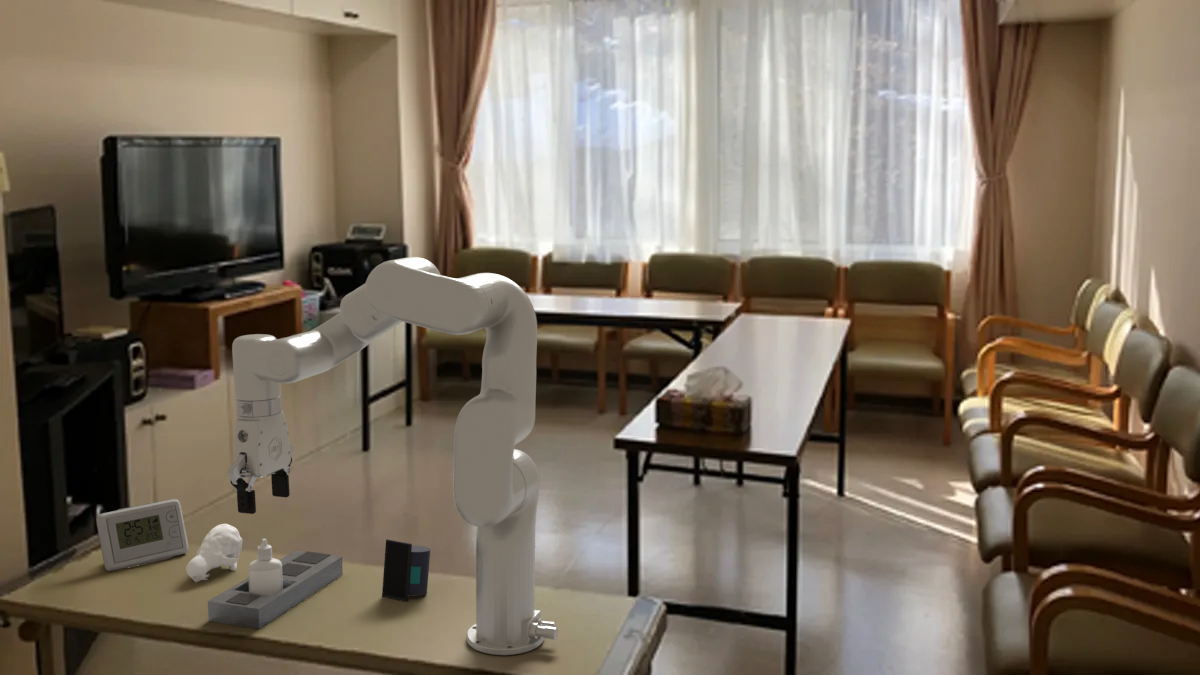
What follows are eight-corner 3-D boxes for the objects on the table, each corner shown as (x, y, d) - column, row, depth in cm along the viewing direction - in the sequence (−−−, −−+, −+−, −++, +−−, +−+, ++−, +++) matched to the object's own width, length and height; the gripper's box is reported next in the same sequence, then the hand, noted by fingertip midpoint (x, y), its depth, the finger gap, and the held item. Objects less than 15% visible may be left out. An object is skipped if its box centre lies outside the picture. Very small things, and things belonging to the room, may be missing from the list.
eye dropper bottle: (274, 611, 187) (272, 545, 185) (245, 608, 188) (242, 542, 186) (287, 601, 191) (285, 536, 189) (258, 598, 192) (256, 533, 190)
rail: (342, 574, 204) (342, 556, 204) (259, 629, 180) (258, 608, 179) (296, 567, 207) (296, 549, 207) (208, 620, 183) (207, 600, 182)
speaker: (399, 604, 190) (402, 546, 189) (381, 596, 194) (383, 539, 193) (435, 597, 195) (437, 540, 195) (416, 589, 199) (418, 534, 199)
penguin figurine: (244, 522, 206) (200, 548, 195) (248, 563, 208) (205, 591, 197) (217, 518, 208) (172, 543, 198) (221, 559, 211) (178, 586, 200)
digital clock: (102, 575, 202) (99, 520, 201) (95, 560, 210) (92, 507, 208) (193, 559, 211) (190, 507, 209) (183, 545, 219) (181, 494, 217)
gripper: (246, 419, 175) (252, 521, 177) (306, 398, 191) (311, 492, 194) (207, 416, 177) (213, 517, 180) (270, 396, 193) (275, 488, 196)
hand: (264, 504), depth 187 cm, fingers open, 9 cm apart
